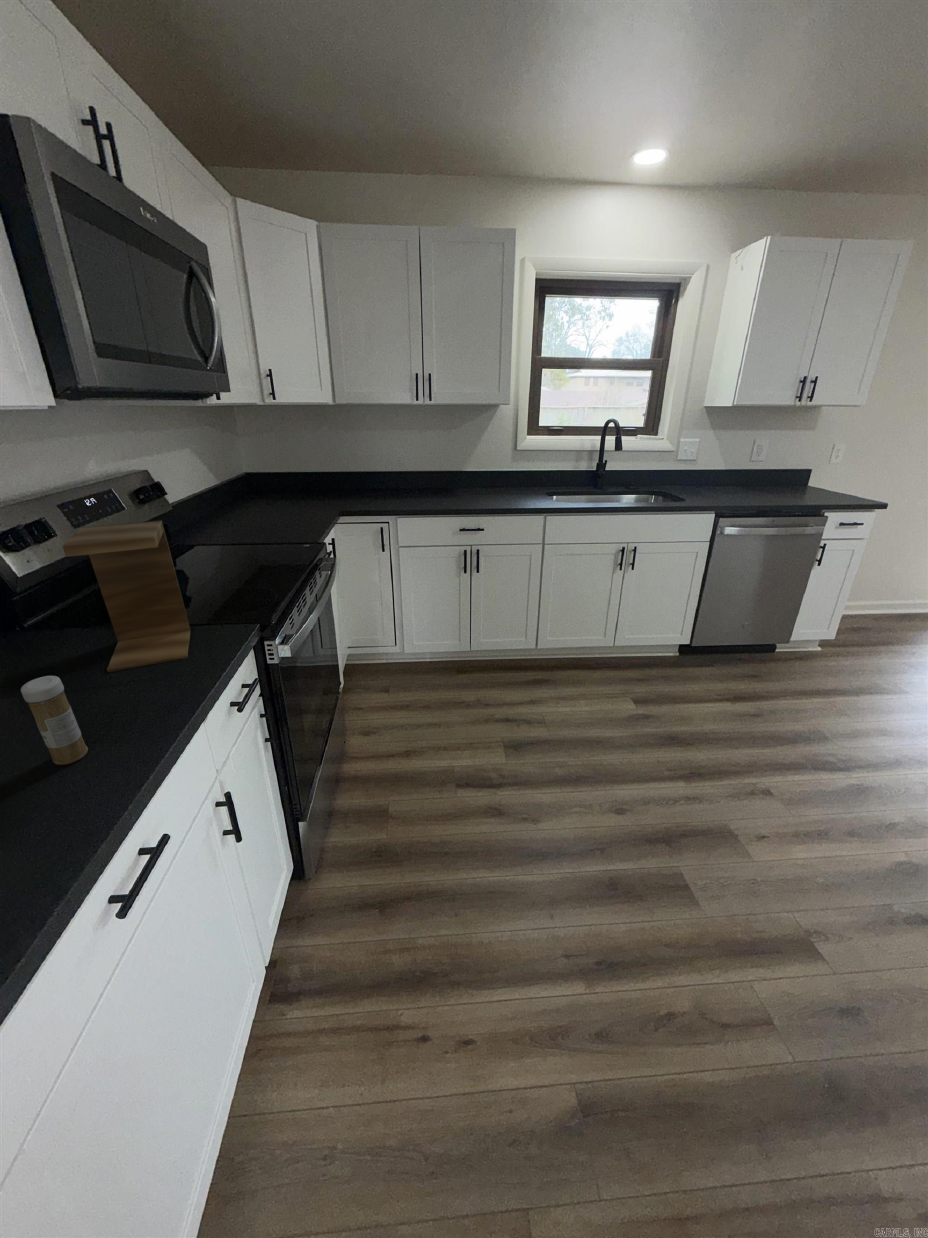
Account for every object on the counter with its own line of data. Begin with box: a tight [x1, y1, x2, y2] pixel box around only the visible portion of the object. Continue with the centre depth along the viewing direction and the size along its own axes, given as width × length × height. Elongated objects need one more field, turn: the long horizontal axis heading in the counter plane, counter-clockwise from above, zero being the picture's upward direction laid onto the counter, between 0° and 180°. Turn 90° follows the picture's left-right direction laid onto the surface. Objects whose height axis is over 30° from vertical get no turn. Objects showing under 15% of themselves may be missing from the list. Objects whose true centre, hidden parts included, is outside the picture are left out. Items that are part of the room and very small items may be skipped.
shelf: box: [62, 519, 192, 673], centre depth 100 cm, size 14×14×27 cm
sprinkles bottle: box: [20, 675, 89, 766], centre depth 74 cm, size 5×5×14 cm
